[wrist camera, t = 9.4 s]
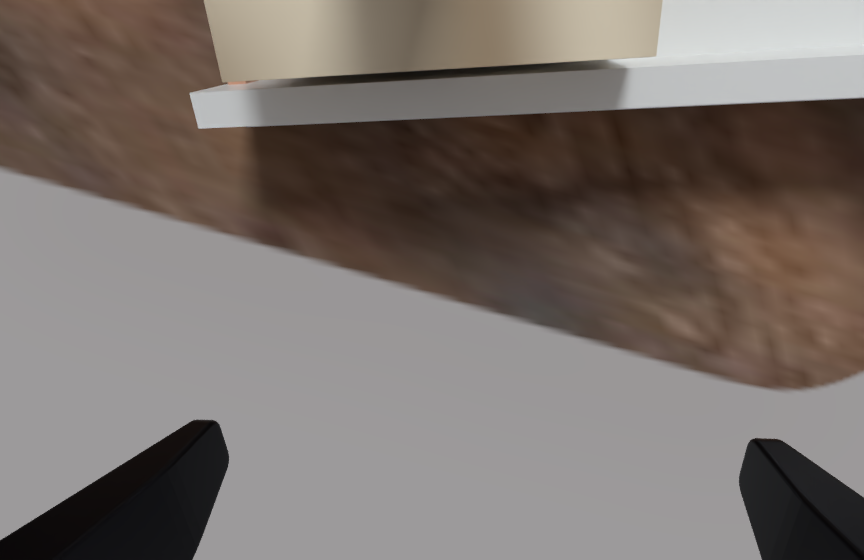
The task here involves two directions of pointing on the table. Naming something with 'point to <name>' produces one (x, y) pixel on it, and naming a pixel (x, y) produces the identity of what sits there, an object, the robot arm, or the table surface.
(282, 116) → the bay
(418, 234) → the table surface
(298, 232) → the table surface
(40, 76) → the table surface
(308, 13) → the beige knobbed block
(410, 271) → the table surface
